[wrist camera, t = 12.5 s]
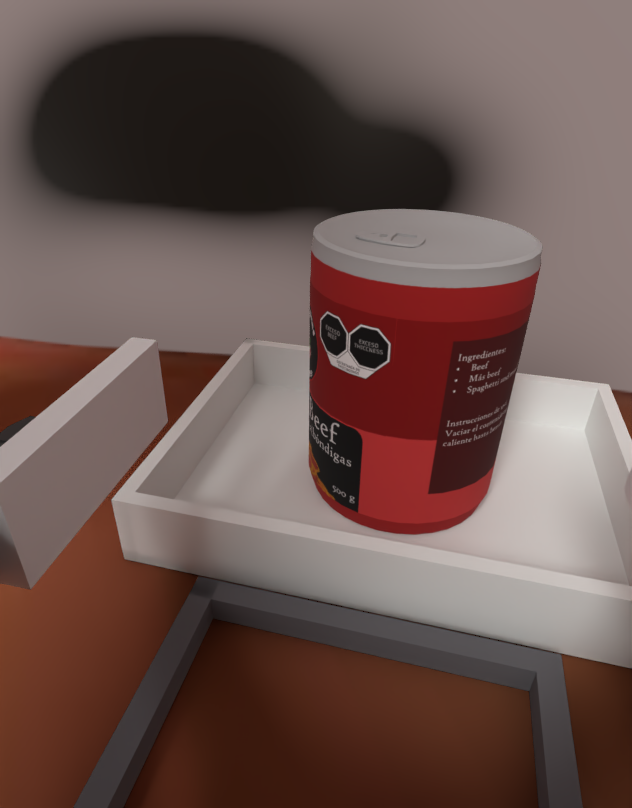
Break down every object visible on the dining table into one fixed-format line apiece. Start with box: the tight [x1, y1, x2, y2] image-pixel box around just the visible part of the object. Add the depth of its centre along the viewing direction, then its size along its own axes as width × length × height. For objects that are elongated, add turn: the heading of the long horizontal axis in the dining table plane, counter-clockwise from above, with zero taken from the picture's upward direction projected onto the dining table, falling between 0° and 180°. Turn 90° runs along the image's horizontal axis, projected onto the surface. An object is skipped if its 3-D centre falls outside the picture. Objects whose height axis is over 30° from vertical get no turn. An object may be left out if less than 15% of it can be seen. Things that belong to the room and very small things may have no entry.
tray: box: [111, 338, 632, 669], centre depth 25 cm, size 19×14×3 cm
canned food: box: [309, 209, 543, 534], centre depth 23 cm, size 8×8×11 cm
